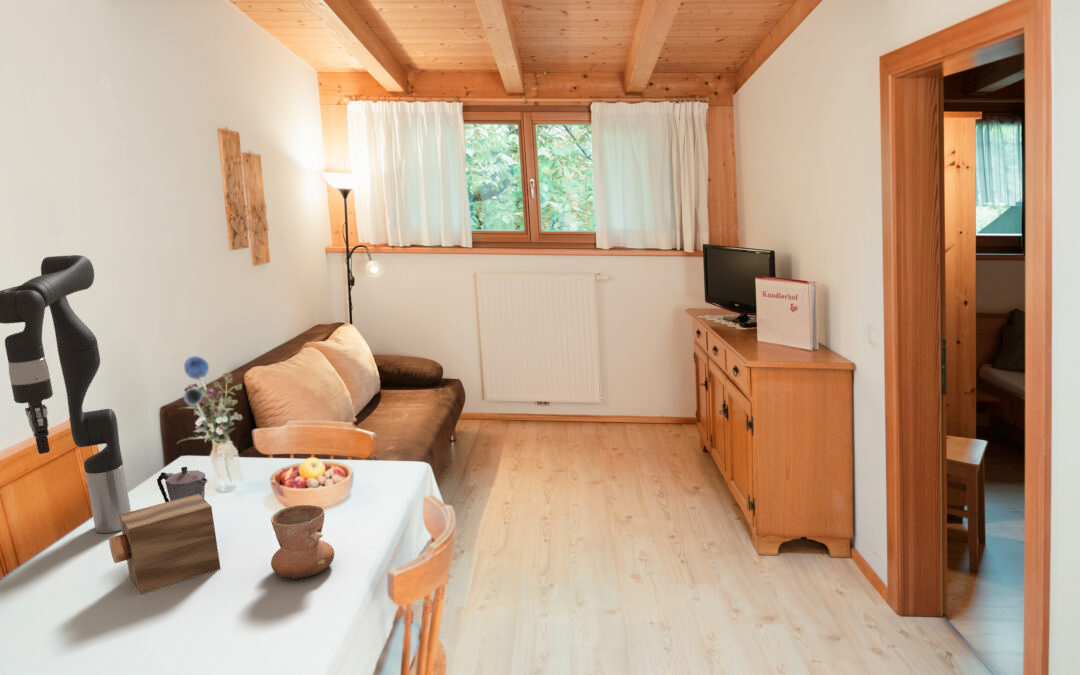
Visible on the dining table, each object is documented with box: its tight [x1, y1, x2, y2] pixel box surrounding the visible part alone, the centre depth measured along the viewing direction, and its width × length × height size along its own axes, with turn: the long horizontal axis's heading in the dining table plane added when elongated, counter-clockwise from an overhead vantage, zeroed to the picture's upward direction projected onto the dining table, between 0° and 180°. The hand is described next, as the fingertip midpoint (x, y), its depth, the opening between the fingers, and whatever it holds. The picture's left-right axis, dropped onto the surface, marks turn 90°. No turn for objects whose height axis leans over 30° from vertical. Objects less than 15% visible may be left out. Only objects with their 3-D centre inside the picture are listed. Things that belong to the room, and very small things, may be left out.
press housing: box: [119, 494, 221, 595], centre depth 193 cm, size 11×18×16 cm, turn 127°
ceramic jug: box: [270, 504, 335, 579], centre depth 192 cm, size 18×14×14 cm
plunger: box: [108, 533, 130, 564], centre depth 192 cm, size 6×21×6 cm, turn 127°
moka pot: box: [156, 466, 208, 503], centre depth 211 cm, size 10×15×20 cm, turn 79°
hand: (44, 452), depth 185 cm, fingers closed
